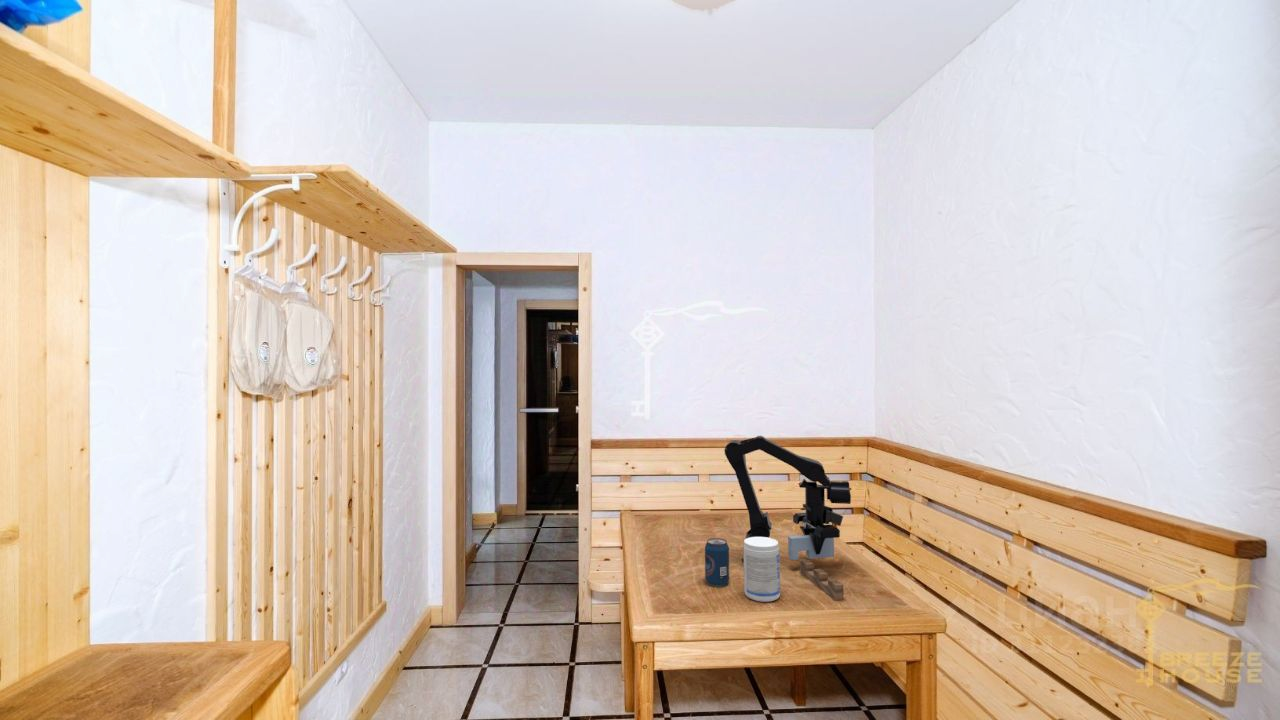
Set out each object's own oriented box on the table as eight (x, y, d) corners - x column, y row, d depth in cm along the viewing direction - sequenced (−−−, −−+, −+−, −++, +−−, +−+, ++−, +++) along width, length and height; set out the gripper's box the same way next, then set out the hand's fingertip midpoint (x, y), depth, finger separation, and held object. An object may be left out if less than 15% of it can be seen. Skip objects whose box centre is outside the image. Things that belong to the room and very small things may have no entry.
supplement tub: (786, 601, 144) (785, 545, 144) (753, 604, 142) (752, 548, 142) (769, 587, 154) (769, 534, 154) (738, 590, 151) (737, 537, 152)
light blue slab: (792, 560, 165) (791, 538, 165) (788, 557, 168) (788, 536, 168) (834, 556, 168) (833, 535, 168) (830, 554, 170) (829, 533, 170)
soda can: (700, 580, 159) (700, 539, 159) (721, 576, 161) (720, 536, 162) (713, 589, 152) (712, 546, 153) (734, 585, 155) (733, 542, 155)
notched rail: (843, 599, 145) (843, 584, 145) (836, 600, 144) (835, 585, 144) (807, 572, 164) (806, 559, 164) (800, 573, 164) (800, 559, 164)
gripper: (855, 508, 161) (856, 561, 160) (823, 494, 179) (824, 541, 179) (821, 510, 159) (821, 563, 158) (791, 495, 177) (792, 544, 177)
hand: (815, 552), depth 168 cm, fingers closed on light blue slab, 2 cm apart
